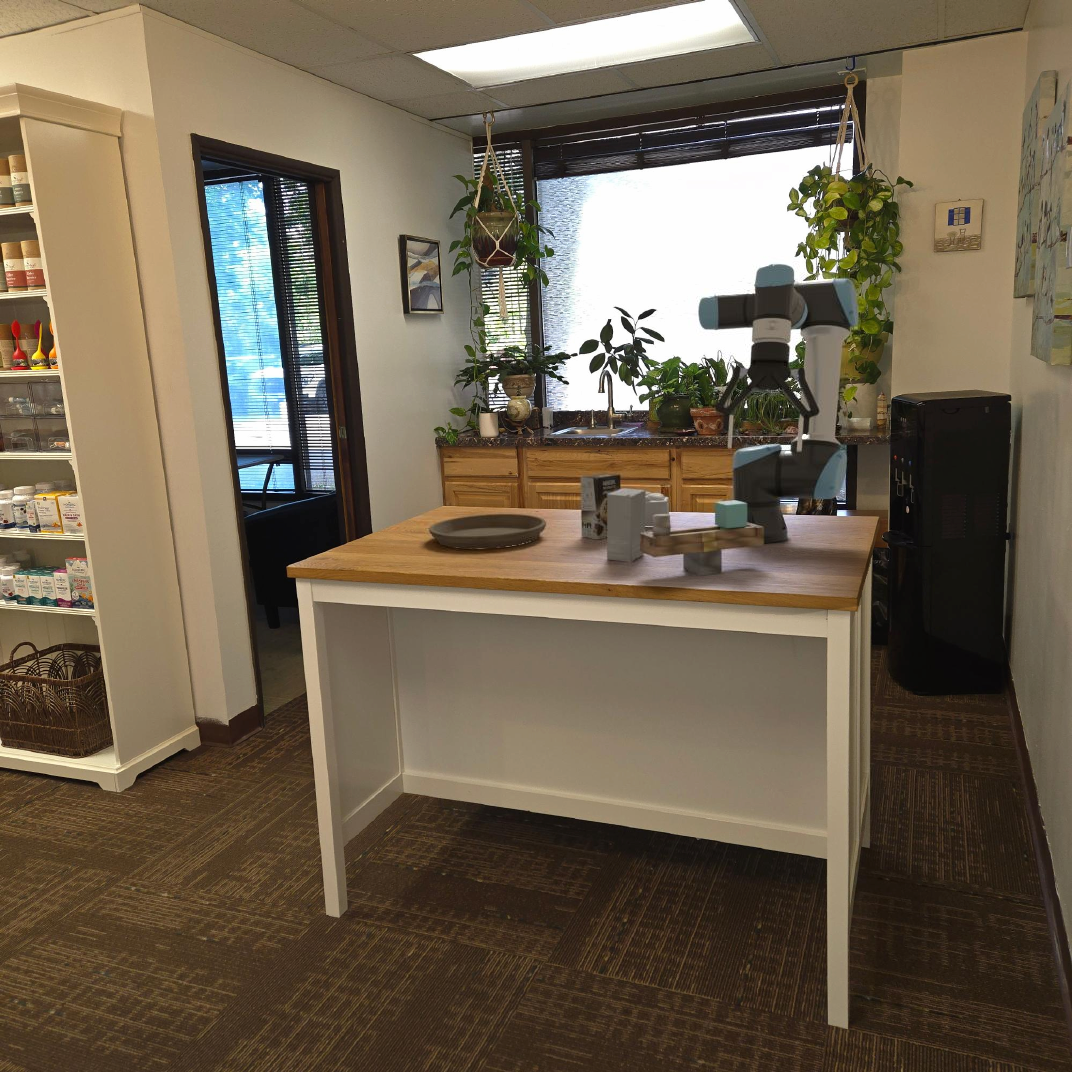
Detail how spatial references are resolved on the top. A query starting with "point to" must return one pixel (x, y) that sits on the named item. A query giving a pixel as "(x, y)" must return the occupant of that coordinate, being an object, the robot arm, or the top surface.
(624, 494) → the skincare box
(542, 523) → the plant saucer
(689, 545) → the beam
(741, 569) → the top surface
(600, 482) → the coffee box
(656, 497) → the lumpy-topped squat cylinder
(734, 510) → the block
